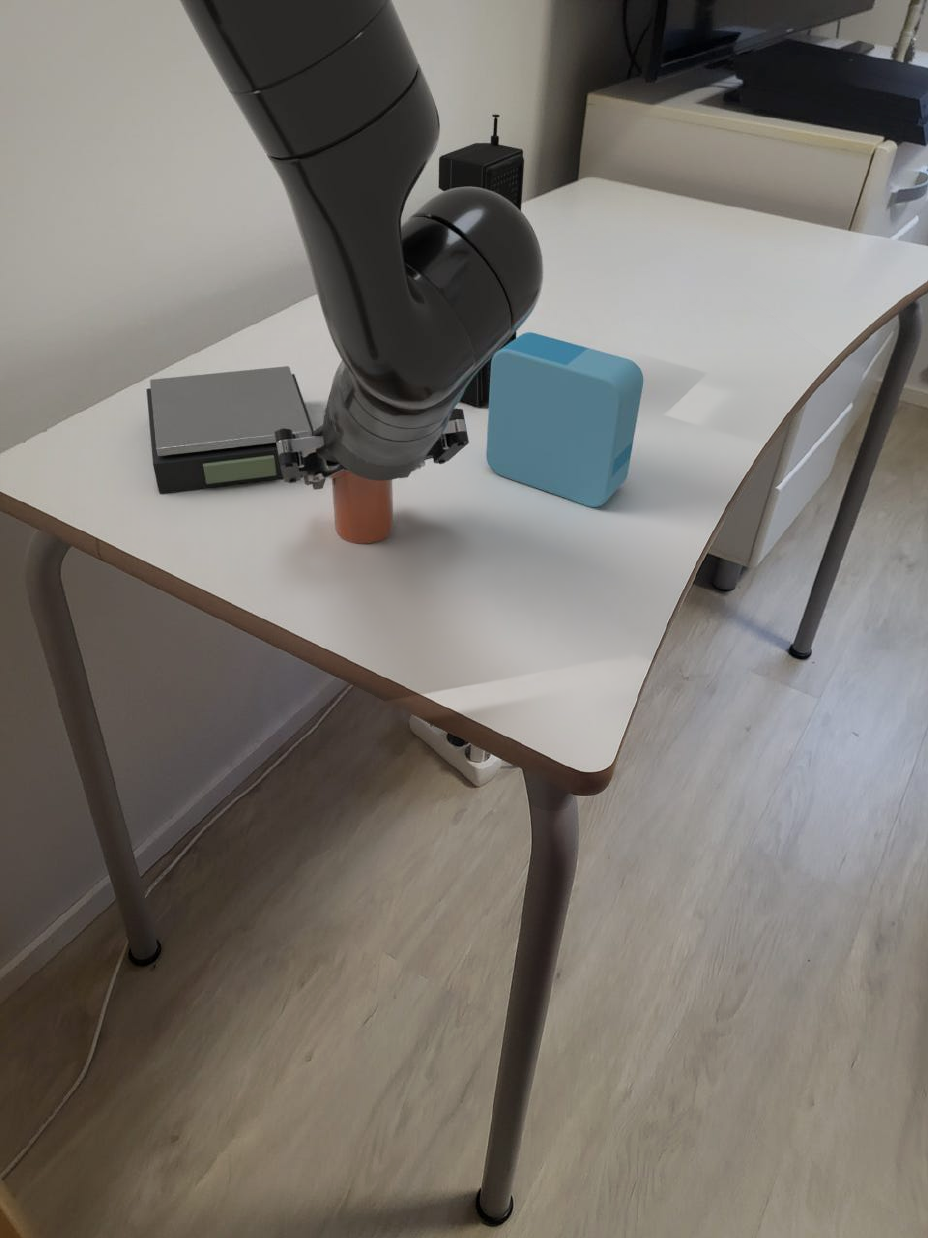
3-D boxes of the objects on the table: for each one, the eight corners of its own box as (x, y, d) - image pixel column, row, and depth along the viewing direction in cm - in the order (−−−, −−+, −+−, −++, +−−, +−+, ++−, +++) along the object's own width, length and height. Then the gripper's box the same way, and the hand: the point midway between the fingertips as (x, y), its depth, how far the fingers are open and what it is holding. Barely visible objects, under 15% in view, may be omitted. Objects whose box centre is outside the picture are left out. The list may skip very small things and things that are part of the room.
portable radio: (478, 414, 93) (491, 138, 77) (428, 397, 95) (430, 126, 79) (518, 385, 98) (539, 121, 82) (470, 369, 100) (480, 110, 84)
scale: (159, 497, 80) (153, 466, 78) (152, 416, 90) (146, 388, 88) (322, 476, 83) (320, 446, 81) (296, 401, 94) (294, 373, 92)
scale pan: (158, 456, 79) (156, 448, 78) (151, 387, 88) (149, 379, 88) (312, 438, 82) (311, 430, 81) (289, 373, 91) (289, 365, 91)
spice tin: (340, 548, 75) (334, 462, 70) (329, 514, 79) (322, 429, 74) (400, 539, 76) (399, 454, 71) (387, 506, 80) (384, 422, 75)
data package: (626, 489, 83) (647, 362, 75) (604, 513, 80) (624, 384, 72) (508, 450, 88) (517, 326, 80) (484, 471, 85) (490, 345, 77)
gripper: (484, 340, 62) (435, 416, 78) (264, 361, 58) (261, 436, 75) (505, 451, 61) (451, 504, 78) (284, 479, 58) (277, 528, 74)
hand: (358, 471), depth 76 cm, fingers open, 6 cm apart
